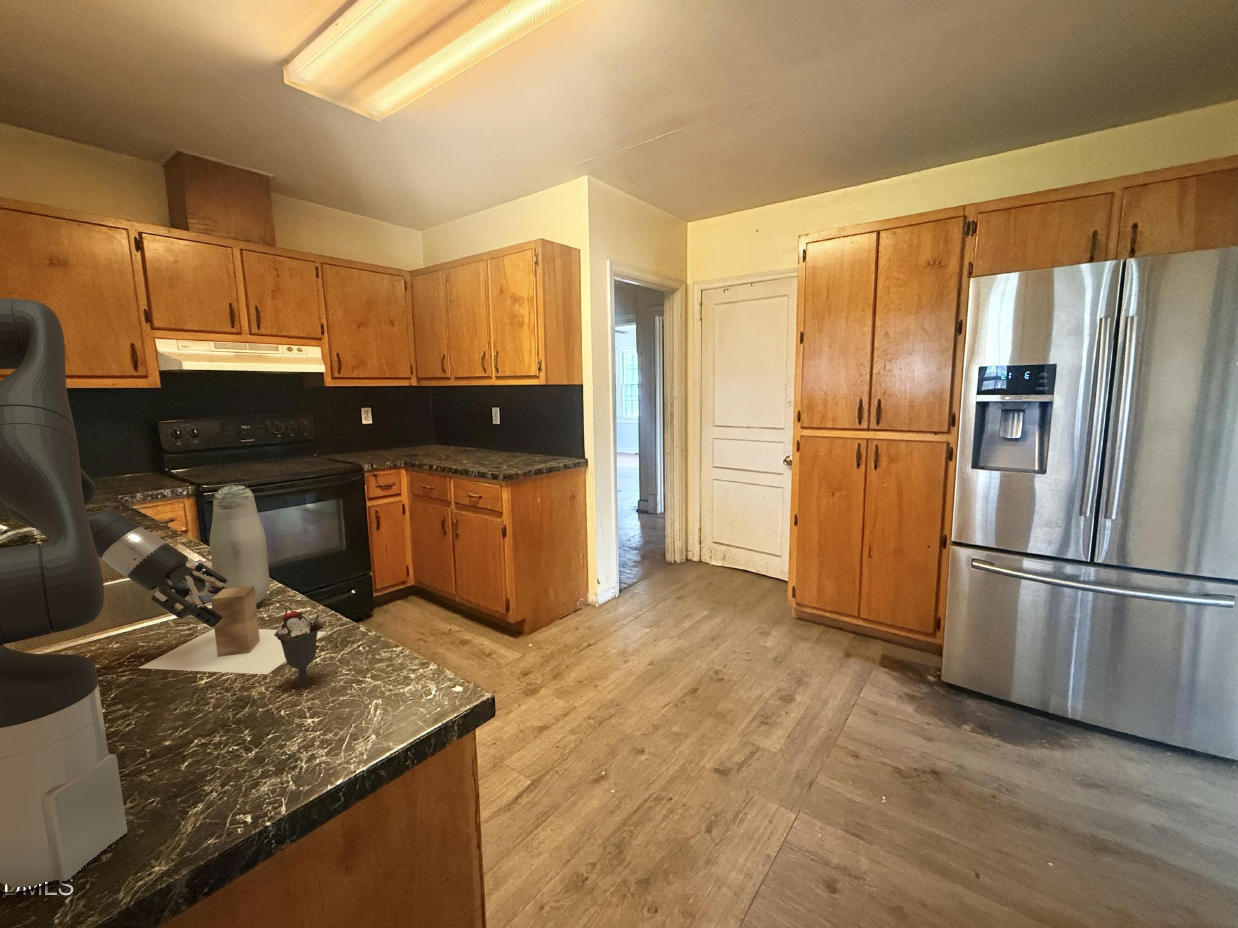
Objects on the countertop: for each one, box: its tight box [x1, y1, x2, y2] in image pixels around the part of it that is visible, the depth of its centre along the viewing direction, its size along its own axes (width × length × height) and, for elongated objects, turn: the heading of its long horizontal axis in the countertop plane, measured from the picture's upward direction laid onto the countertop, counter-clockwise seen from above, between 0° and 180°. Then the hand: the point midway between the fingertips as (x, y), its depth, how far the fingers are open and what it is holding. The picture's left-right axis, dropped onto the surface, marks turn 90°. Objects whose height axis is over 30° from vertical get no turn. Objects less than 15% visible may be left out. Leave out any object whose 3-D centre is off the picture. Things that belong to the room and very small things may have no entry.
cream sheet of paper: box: [138, 628, 328, 675], centre depth 98 cm, size 24×16×1 cm, turn 85°
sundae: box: [274, 602, 324, 697], centre depth 86 cm, size 7×7×15 cm
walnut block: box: [210, 586, 260, 657], centre depth 98 cm, size 5×5×11 cm
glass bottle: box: [209, 484, 270, 606], centre depth 118 cm, size 10×10×28 cm
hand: (228, 613), depth 97 cm, fingers open, 8 cm apart
